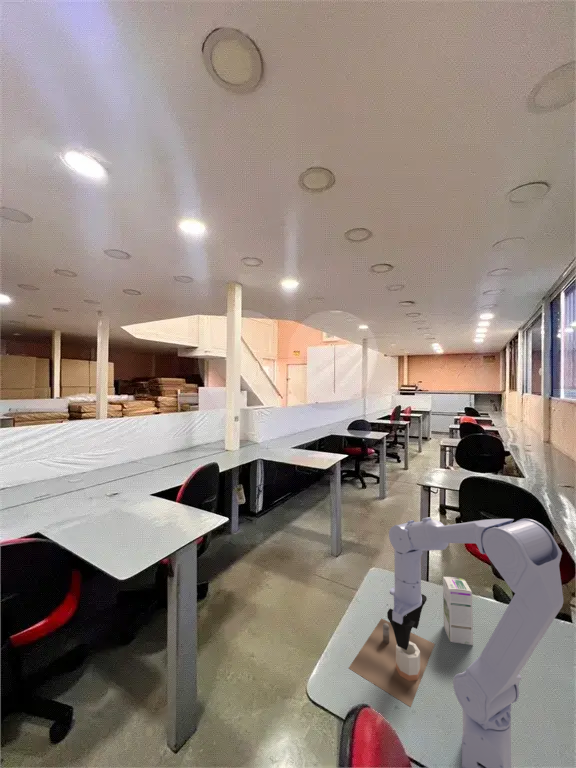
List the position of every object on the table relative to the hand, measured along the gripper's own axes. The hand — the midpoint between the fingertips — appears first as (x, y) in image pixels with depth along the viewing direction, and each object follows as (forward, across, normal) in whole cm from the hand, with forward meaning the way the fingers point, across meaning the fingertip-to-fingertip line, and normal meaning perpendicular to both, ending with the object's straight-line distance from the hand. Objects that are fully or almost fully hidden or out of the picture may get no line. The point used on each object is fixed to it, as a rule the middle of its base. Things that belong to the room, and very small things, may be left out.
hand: (407, 636), depth 71 cm
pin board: (+9, -2, -4) cm, 10 cm away
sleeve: (+8, 0, 0) cm, 8 cm away
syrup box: (+9, -19, +7) cm, 22 cm away
